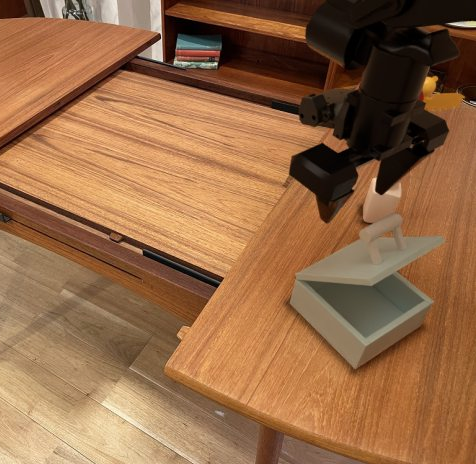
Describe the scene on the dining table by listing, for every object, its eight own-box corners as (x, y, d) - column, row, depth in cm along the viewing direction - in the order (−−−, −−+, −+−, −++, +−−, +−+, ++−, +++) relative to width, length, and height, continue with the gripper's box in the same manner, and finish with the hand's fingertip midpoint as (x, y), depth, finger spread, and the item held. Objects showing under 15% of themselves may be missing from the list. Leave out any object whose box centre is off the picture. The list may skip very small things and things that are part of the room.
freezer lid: (445, 242, 56) (431, 200, 55) (371, 286, 52) (355, 241, 51) (362, 243, 68) (350, 208, 67) (296, 279, 63) (283, 242, 63)
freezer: (420, 325, 64) (434, 301, 61) (355, 369, 60) (366, 346, 56) (352, 267, 71) (361, 243, 68) (289, 303, 67) (295, 279, 64)
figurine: (440, 100, 102) (457, 59, 96) (449, 133, 94) (468, 90, 88) (378, 94, 105) (391, 53, 98) (382, 126, 96) (396, 83, 90)
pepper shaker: (389, 227, 77) (409, 178, 70) (362, 223, 78) (379, 173, 71) (388, 210, 80) (408, 161, 73) (362, 206, 80) (378, 157, 74)
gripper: (388, 37, 59) (356, 149, 70) (263, 82, 52) (249, 198, 63) (476, 75, 52) (424, 192, 63) (345, 133, 45) (313, 253, 56)
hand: (352, 206), depth 61 cm, fingers open, 9 cm apart
